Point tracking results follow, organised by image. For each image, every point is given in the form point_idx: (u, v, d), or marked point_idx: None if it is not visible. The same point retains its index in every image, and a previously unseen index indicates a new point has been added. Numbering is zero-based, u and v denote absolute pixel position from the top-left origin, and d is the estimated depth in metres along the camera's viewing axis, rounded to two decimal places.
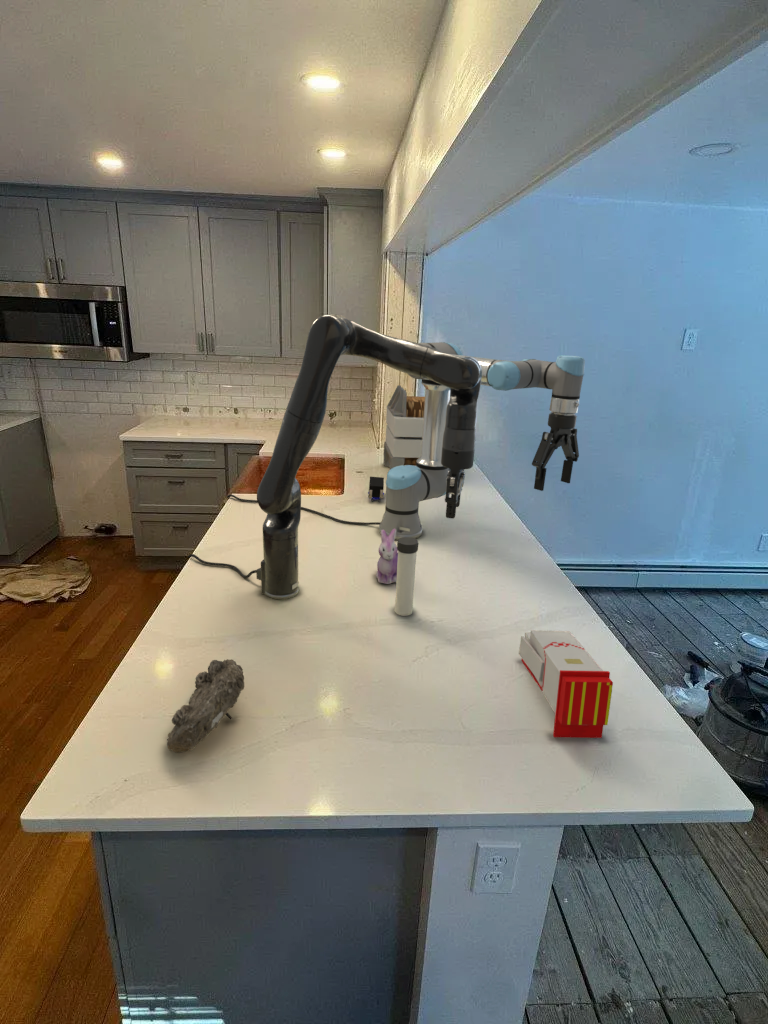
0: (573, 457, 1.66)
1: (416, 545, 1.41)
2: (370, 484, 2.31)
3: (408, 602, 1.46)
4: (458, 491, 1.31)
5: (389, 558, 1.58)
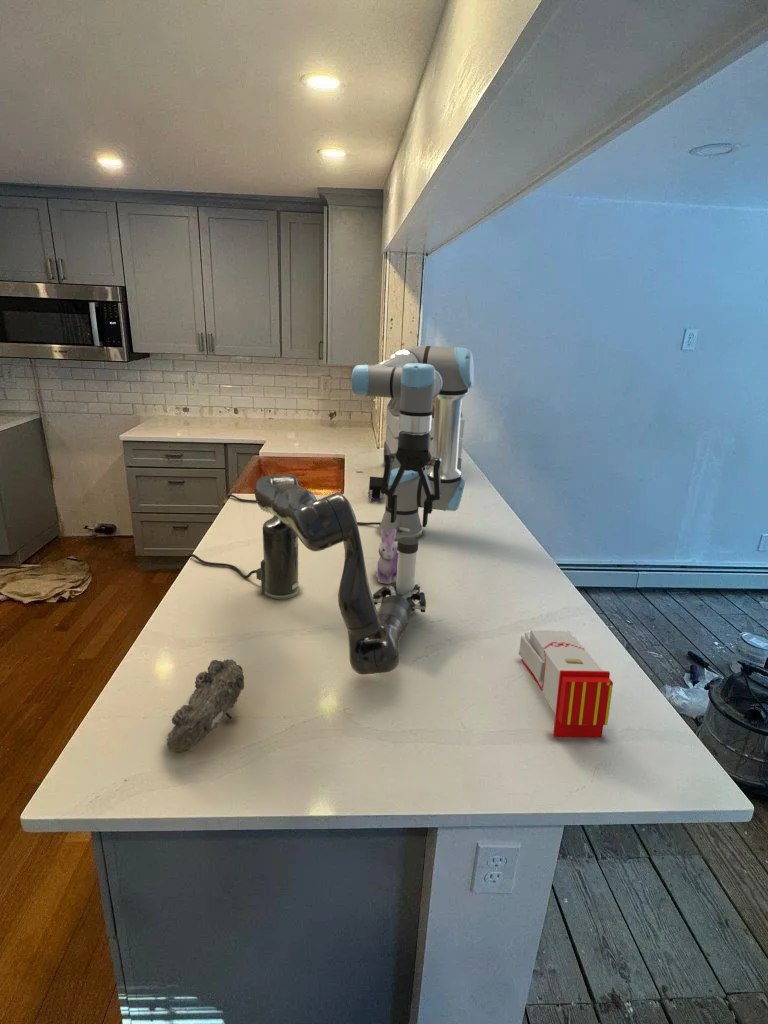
0: None
1: (416, 545, 1.41)
2: (370, 484, 2.31)
3: None
4: None
5: (389, 558, 1.58)
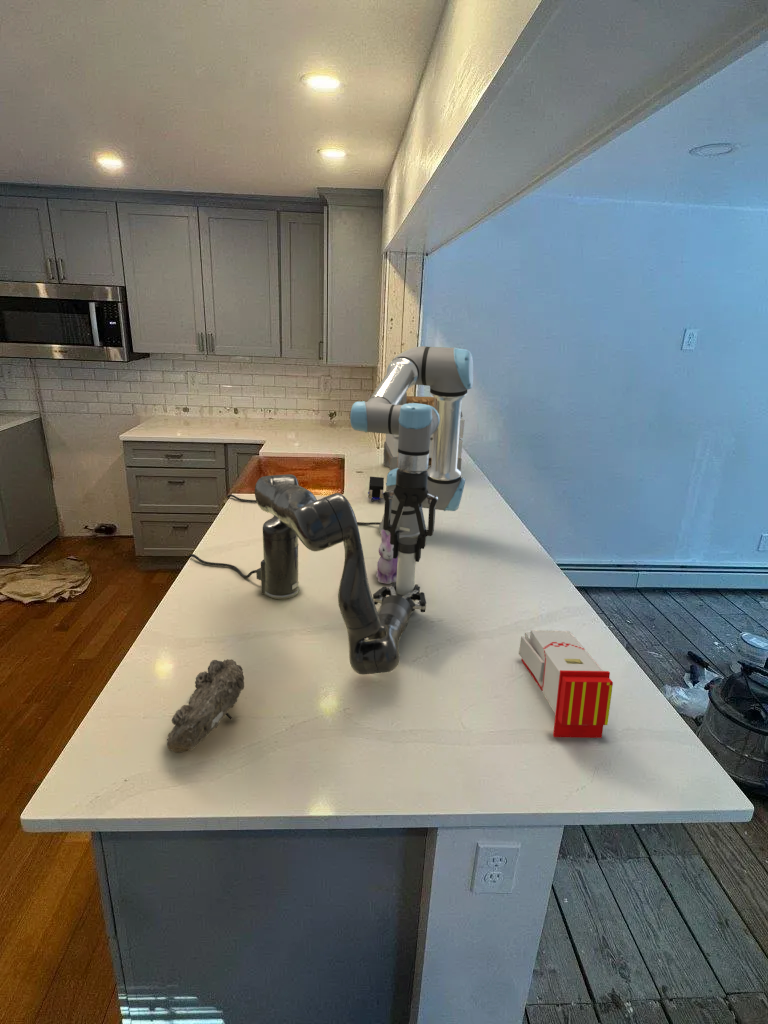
0: None
1: (416, 545, 1.41)
2: (370, 484, 2.31)
3: None
4: None
5: (389, 558, 1.58)
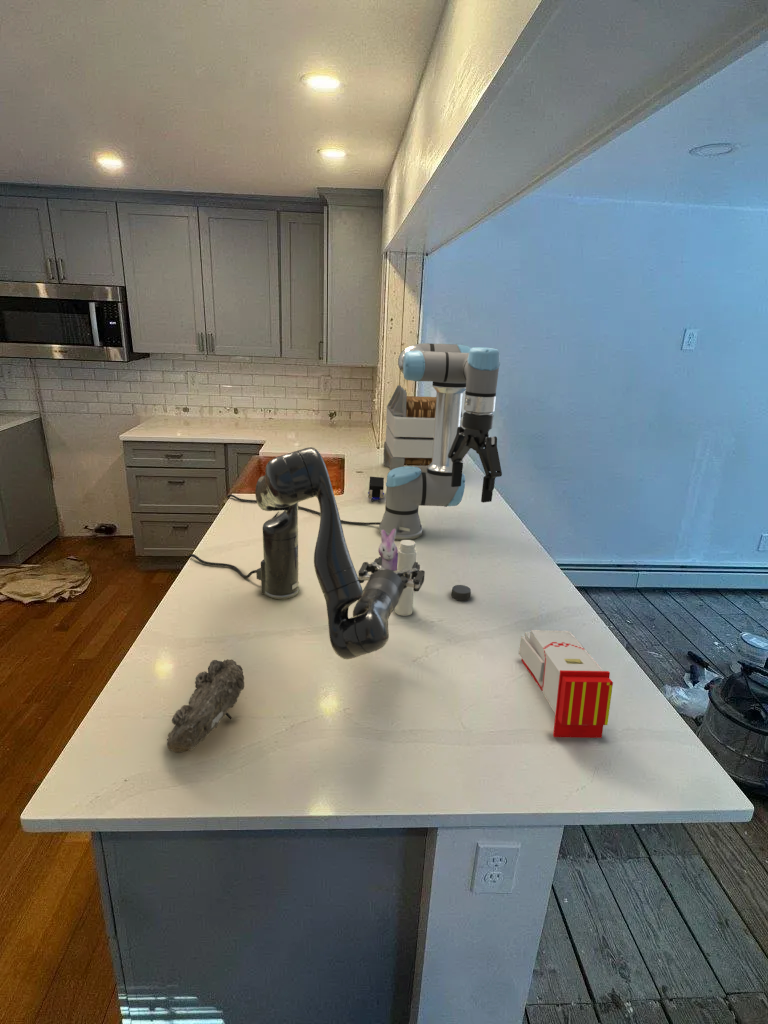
0: (486, 472, 1.39)
1: None
2: (370, 484, 2.31)
3: (408, 602, 1.46)
4: None
5: (389, 558, 1.58)
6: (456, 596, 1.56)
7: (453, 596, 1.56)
